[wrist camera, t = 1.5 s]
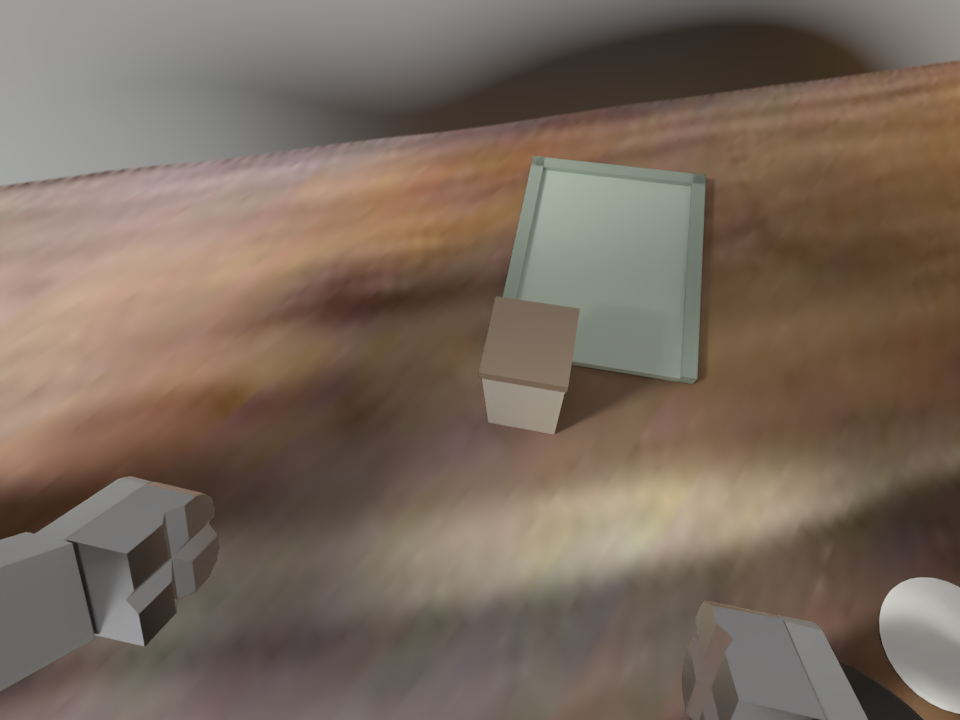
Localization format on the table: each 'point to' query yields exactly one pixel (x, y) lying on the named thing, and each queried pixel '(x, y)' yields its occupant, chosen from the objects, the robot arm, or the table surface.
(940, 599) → the champagne flute
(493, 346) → the canister
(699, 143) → the table surface
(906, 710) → the muzzle brake
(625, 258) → the tray
